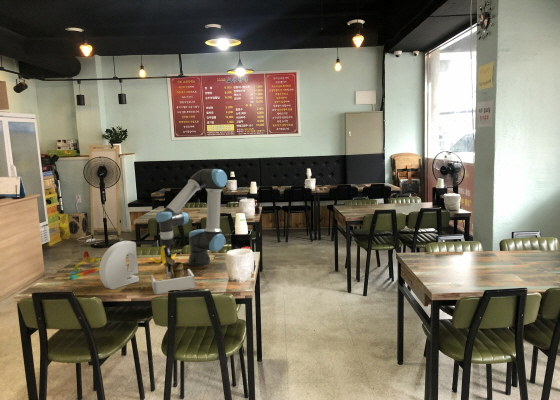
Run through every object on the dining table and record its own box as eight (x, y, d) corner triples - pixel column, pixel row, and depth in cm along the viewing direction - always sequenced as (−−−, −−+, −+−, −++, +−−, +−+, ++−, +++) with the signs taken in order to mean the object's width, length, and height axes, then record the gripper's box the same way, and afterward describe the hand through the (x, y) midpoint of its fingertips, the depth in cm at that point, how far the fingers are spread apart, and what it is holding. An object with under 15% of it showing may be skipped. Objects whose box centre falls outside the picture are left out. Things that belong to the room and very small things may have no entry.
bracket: (139, 281, 258) (135, 240, 255) (107, 291, 242) (103, 248, 239) (132, 279, 263) (129, 239, 259) (100, 288, 246) (96, 246, 243)
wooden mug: (162, 285, 247) (160, 255, 244) (176, 278, 260) (174, 249, 256) (174, 287, 244) (173, 257, 241) (188, 279, 256) (187, 251, 253)
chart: (107, 265, 295) (105, 244, 293) (110, 266, 294) (108, 245, 292) (69, 279, 268) (67, 256, 266) (73, 279, 267) (70, 256, 264)
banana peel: (176, 258, 308) (175, 235, 306) (169, 265, 289) (167, 241, 287) (154, 258, 308) (152, 236, 306) (145, 266, 290) (143, 242, 287)
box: (190, 280, 256) (189, 269, 255) (195, 287, 242) (194, 276, 241) (151, 286, 247) (150, 274, 246) (154, 294, 233) (153, 282, 232)
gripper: (159, 236, 256) (161, 274, 259) (161, 240, 244) (164, 280, 247) (171, 235, 258) (174, 272, 262) (174, 239, 247) (177, 278, 250)
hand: (169, 276), depth 254 cm, fingers closed
